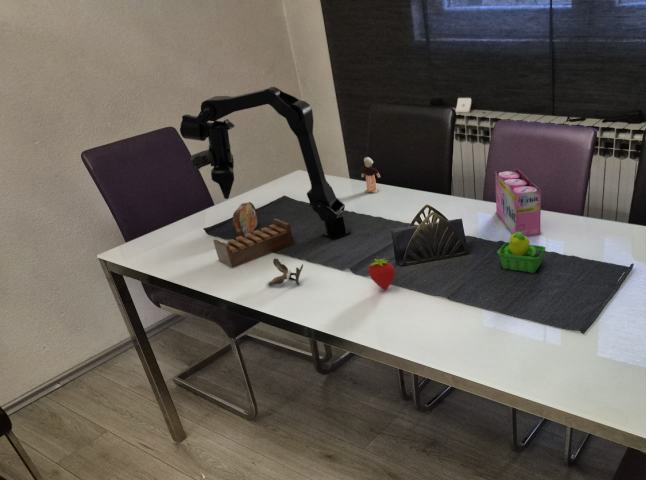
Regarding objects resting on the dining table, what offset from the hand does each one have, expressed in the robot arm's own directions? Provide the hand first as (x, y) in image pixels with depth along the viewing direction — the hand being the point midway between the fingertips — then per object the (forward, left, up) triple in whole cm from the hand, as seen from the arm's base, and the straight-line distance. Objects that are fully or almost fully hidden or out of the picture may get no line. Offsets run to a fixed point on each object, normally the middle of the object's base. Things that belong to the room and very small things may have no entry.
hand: (226, 193), depth 187 cm
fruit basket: (-89, -36, -14) cm, 97 cm away
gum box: (-68, -60, -14) cm, 91 cm away
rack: (-18, +3, -14) cm, 23 cm away
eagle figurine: (-44, +9, -14) cm, 47 cm away
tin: (0, -4, -14) cm, 15 cm away
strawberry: (-69, -5, -14) cm, 70 cm away
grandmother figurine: (-4, -53, -14) cm, 55 cm away
